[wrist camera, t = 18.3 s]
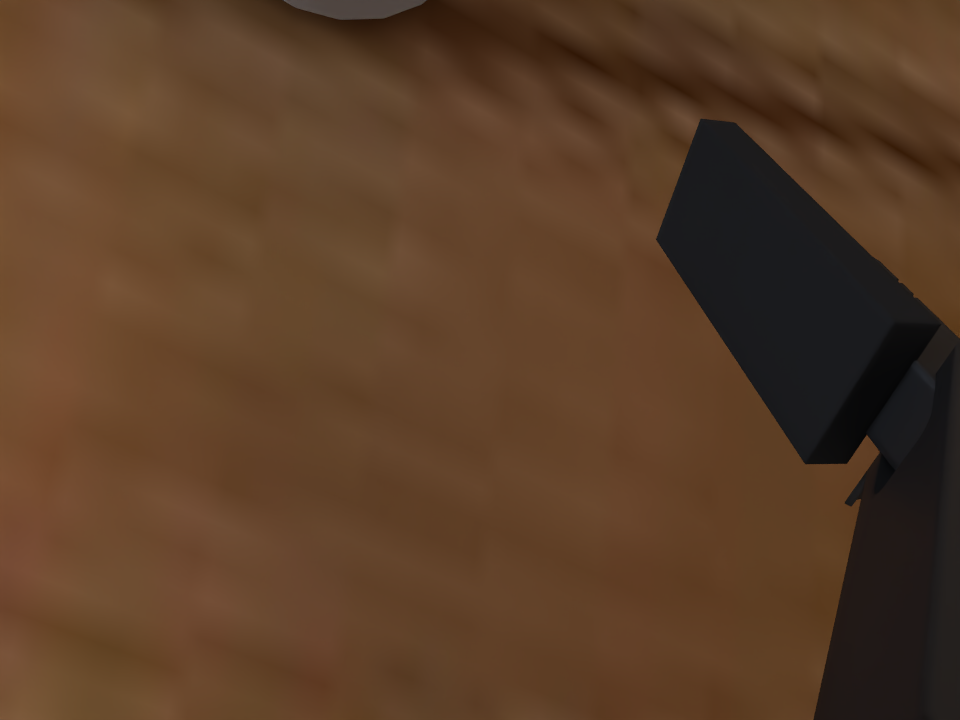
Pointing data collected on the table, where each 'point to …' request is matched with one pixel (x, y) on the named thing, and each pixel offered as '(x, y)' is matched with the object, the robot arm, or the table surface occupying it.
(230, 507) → the table surface
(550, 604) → the table surface
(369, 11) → the can
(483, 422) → the table surface
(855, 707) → the robot arm
